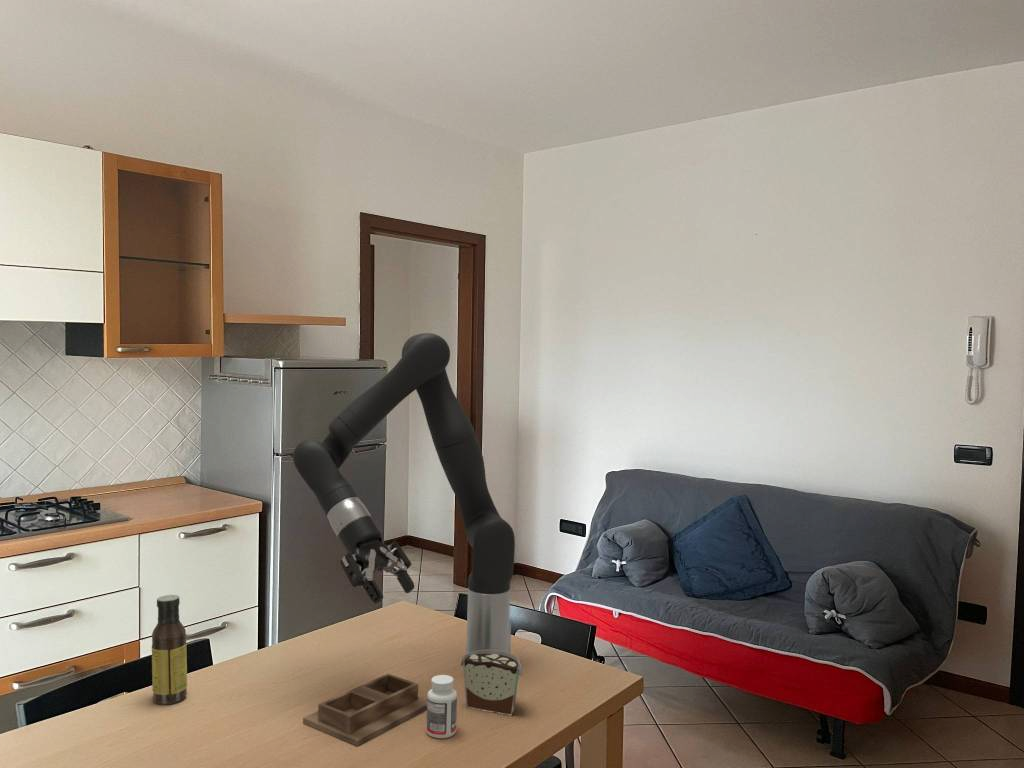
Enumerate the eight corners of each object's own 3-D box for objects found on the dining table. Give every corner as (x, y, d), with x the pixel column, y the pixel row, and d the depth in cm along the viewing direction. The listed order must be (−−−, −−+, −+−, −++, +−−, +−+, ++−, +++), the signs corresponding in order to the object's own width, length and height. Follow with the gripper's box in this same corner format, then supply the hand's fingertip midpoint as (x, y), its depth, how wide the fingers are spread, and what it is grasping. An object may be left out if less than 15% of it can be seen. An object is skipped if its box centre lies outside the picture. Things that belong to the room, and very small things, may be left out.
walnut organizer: (379, 687, 164) (380, 668, 163) (432, 706, 156) (433, 686, 156) (302, 723, 147) (303, 701, 147) (357, 746, 139) (357, 723, 139)
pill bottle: (445, 722, 149) (446, 670, 149) (462, 733, 145) (463, 680, 145) (420, 730, 146) (421, 677, 145) (437, 742, 142) (438, 687, 141)
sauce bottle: (187, 690, 160) (188, 591, 159) (186, 703, 154) (187, 600, 153) (152, 694, 158) (153, 593, 157) (149, 707, 152) (151, 603, 151)
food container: (529, 704, 158) (530, 654, 158) (519, 717, 152) (521, 665, 152) (471, 694, 162) (472, 645, 162) (459, 706, 156) (460, 655, 156)
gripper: (336, 520, 150) (379, 593, 144) (389, 509, 162) (431, 576, 155) (316, 543, 153) (357, 616, 147) (369, 531, 165) (410, 598, 159)
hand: (395, 595), depth 151 cm, fingers open, 8 cm apart
